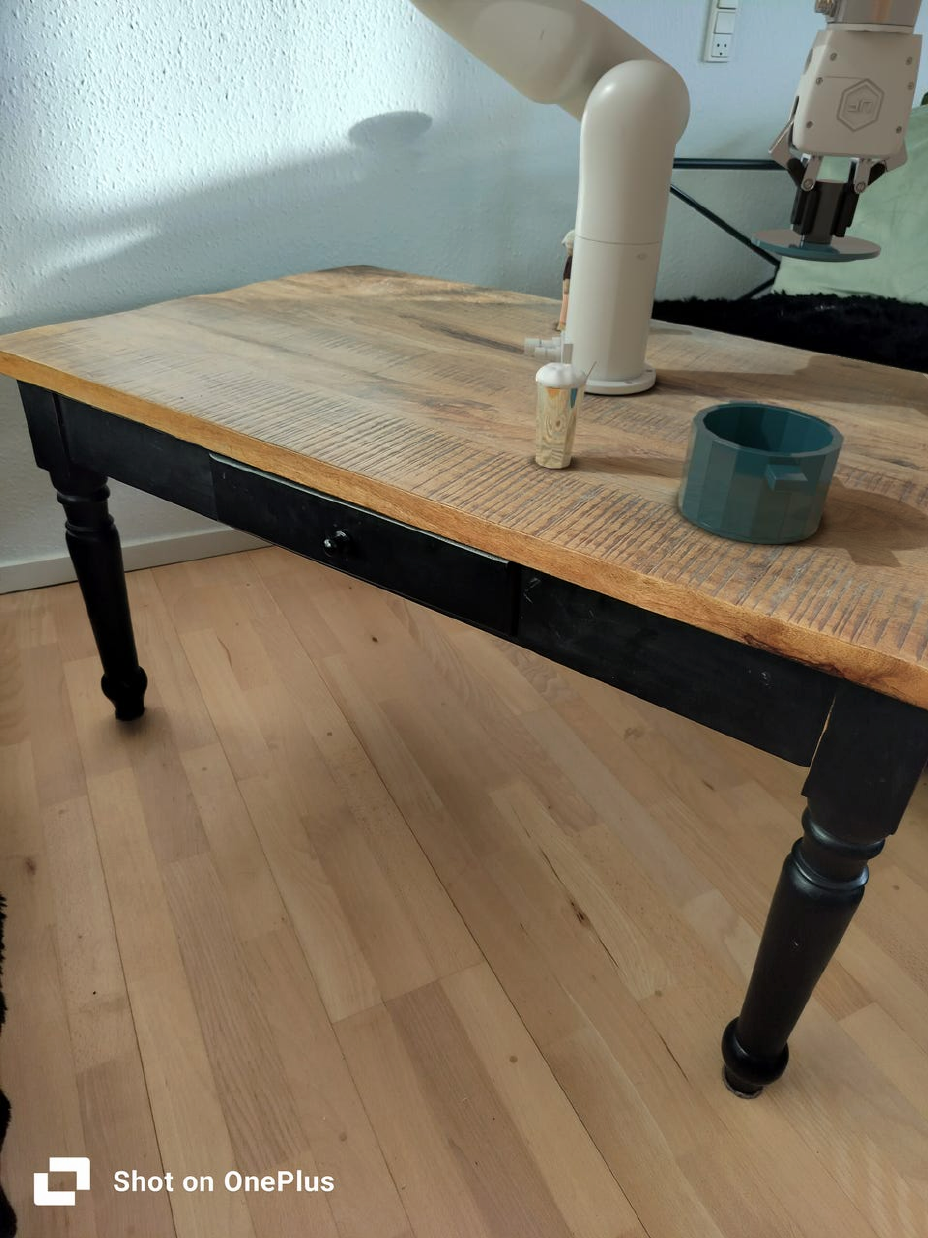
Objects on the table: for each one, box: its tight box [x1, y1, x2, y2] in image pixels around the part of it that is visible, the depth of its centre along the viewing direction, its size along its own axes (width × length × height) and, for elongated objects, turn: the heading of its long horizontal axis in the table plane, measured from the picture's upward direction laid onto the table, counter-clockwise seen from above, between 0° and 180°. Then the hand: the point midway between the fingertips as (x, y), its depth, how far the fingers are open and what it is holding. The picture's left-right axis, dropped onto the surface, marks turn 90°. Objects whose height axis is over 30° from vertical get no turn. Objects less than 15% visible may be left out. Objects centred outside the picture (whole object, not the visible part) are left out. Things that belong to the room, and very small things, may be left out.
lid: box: [750, 178, 882, 264], centre depth 87 cm, size 13×13×7 cm
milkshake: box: [535, 362, 596, 470], centre depth 78 cm, size 4×5×10 cm
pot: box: [677, 399, 845, 545], centre depth 72 cm, size 12×17×8 cm
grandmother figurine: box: [556, 228, 575, 332], centre depth 117 cm, size 8×4×13 cm, turn 179°
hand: (818, 231), depth 88 cm, fingers closed on lid, 3 cm apart
